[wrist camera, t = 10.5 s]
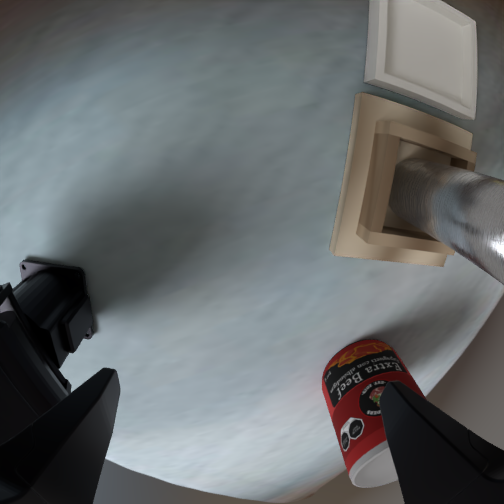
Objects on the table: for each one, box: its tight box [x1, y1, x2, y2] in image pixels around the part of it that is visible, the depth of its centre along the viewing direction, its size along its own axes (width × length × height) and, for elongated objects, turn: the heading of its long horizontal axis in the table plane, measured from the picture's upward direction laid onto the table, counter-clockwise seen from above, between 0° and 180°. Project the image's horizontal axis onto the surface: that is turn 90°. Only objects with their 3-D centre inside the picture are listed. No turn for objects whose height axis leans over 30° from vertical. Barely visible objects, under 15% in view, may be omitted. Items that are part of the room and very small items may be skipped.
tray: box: [364, 0, 477, 120], centre depth 15 cm, size 9×9×2 cm
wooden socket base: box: [329, 92, 477, 267], centre depth 18 cm, size 10×11×3 cm
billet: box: [388, 158, 504, 285], centre depth 13 cm, size 4×4×12 cm
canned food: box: [322, 340, 427, 488], centre depth 21 cm, size 8×8×11 cm
